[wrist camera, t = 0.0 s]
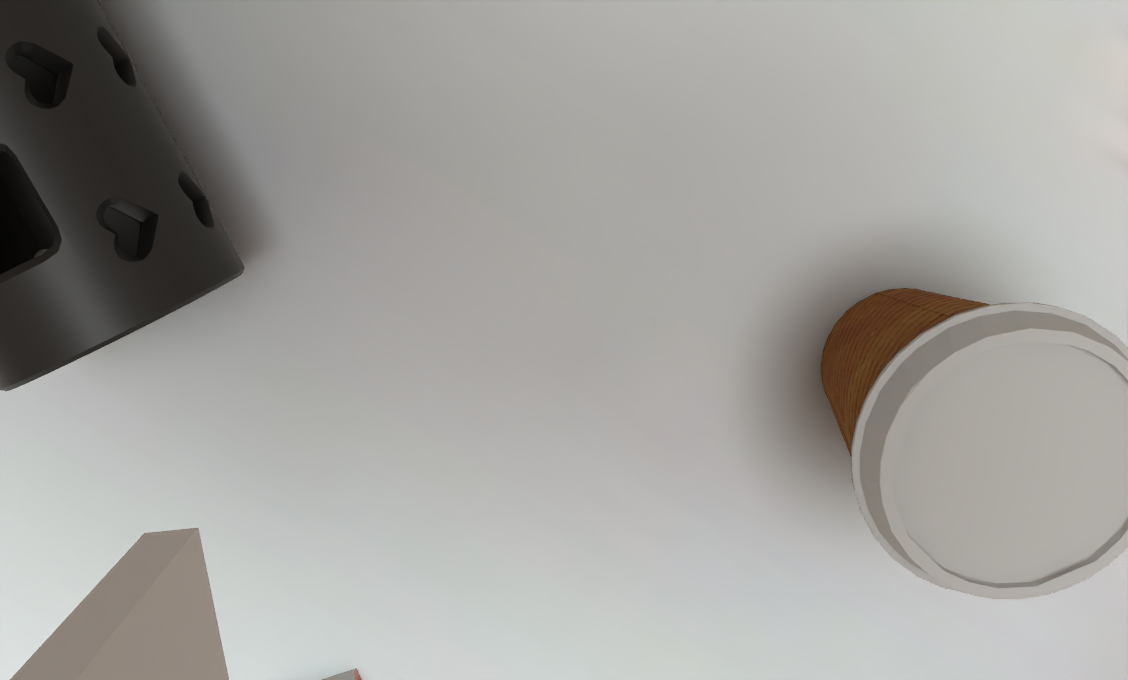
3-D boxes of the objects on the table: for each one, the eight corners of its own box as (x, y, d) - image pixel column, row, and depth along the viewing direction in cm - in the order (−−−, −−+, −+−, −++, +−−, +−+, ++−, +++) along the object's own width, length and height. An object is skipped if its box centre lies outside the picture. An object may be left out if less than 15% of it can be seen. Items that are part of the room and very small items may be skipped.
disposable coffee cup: (906, 198, 42) (1041, 243, 30) (1063, 359, 43) (1250, 463, 32) (732, 367, 43) (797, 474, 32) (889, 518, 45) (1006, 671, 33)
